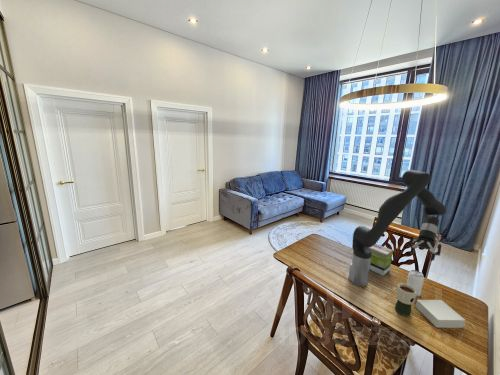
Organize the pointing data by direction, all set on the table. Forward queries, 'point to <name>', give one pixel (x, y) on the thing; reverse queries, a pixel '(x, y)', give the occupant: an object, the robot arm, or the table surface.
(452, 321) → the cream plinth
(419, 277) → the can
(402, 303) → the character mug
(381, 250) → the tea box
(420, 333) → the table surface
